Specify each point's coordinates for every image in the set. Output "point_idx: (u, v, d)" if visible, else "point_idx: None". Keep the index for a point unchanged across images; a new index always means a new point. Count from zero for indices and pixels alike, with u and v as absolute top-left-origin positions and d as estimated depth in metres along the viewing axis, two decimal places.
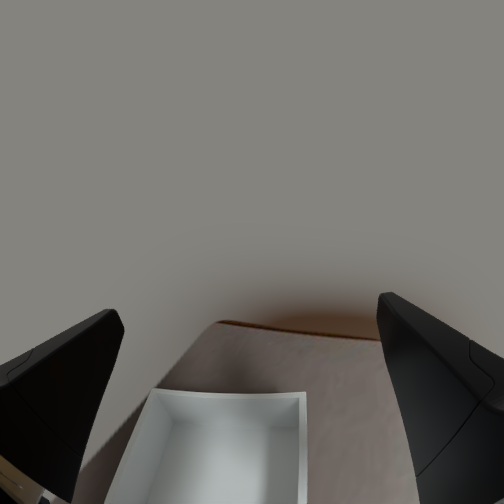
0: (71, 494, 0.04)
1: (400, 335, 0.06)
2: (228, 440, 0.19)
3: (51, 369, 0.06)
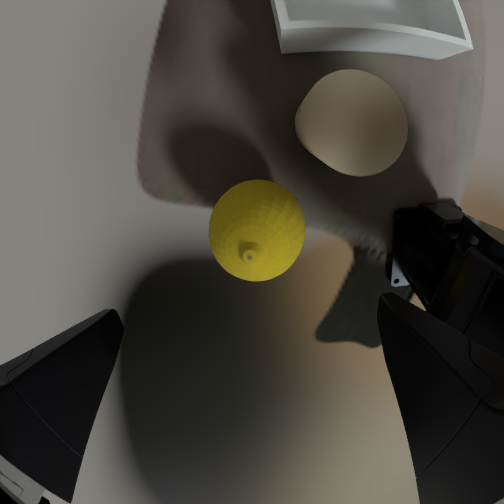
0: (71, 494, 0.04)
1: (400, 335, 0.06)
2: None
3: (51, 369, 0.06)
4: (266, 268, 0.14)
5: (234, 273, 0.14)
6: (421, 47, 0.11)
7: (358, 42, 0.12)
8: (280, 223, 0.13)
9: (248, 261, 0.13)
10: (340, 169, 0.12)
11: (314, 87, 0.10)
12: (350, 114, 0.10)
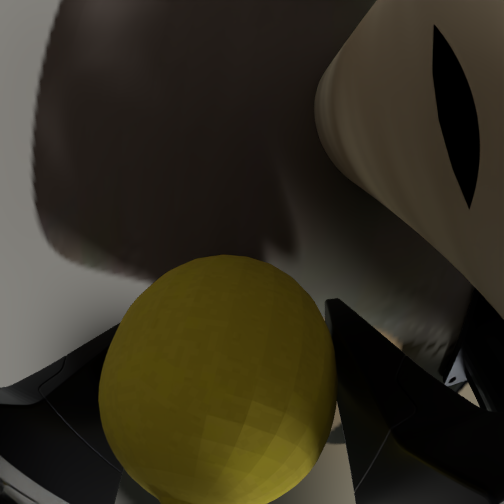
0: None
1: (336, 344, 0.06)
2: None
3: (90, 379, 0.06)
4: None
5: None
6: None
7: None
8: (271, 461, 0.03)
9: None
10: None
11: None
12: None
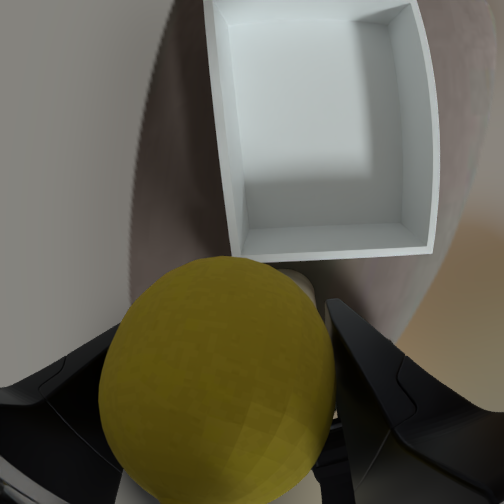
0: None
1: (336, 344, 0.06)
2: (309, 35, 0.14)
3: (90, 379, 0.06)
4: None
5: None
6: None
7: None
8: (271, 462, 0.03)
9: None
10: None
11: None
12: None
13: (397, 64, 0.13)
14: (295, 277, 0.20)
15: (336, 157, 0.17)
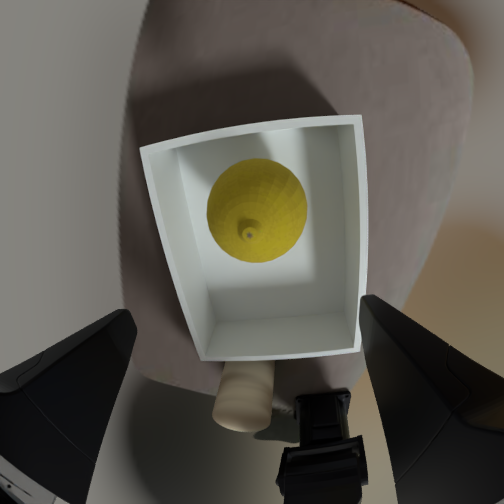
0: (84, 501, 0.04)
1: (378, 339, 0.06)
2: (254, 154, 0.18)
3: (63, 372, 0.06)
4: (266, 248, 0.13)
5: (233, 254, 0.14)
6: None
7: None
8: (281, 200, 0.12)
9: (247, 240, 0.12)
10: (230, 428, 0.22)
11: (218, 408, 0.20)
12: (237, 417, 0.21)
13: (343, 175, 0.18)
14: None
15: (281, 268, 0.21)
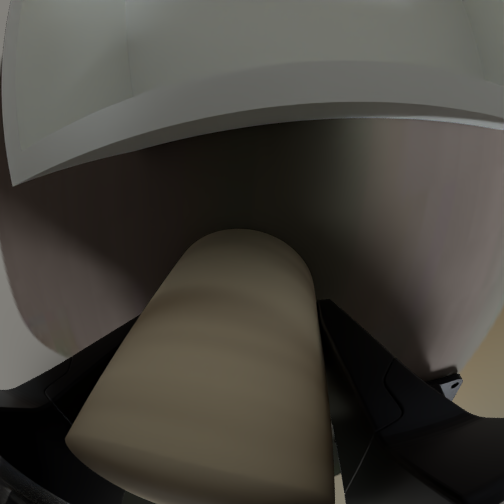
0: None
1: (326, 345, 0.06)
2: None
3: (97, 381, 0.06)
4: None
5: None
6: (478, 122, 0.04)
7: (293, 117, 0.05)
8: None
9: None
10: (159, 503, 0.04)
11: (74, 436, 0.03)
12: (173, 492, 0.03)
13: None
14: (277, 254, 0.08)
15: None
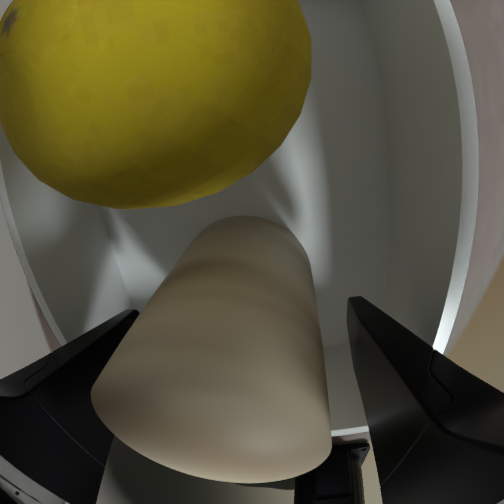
0: None
1: (363, 341, 0.06)
2: None
3: (73, 375, 0.06)
4: (93, 86, 0.02)
5: (25, 163, 0.03)
6: None
7: None
8: None
9: (1, 46, 0.01)
10: (169, 465, 0.05)
11: (104, 379, 0.04)
12: (187, 437, 0.04)
13: (381, 58, 0.07)
14: (277, 237, 0.09)
15: None
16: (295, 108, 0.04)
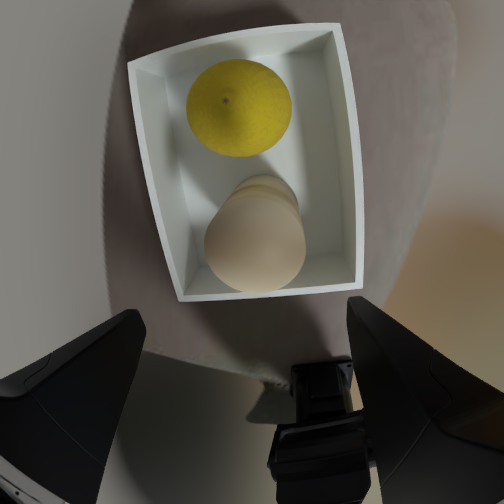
0: None
1: (363, 341, 0.06)
2: None
3: (73, 375, 0.06)
4: (244, 121, 0.11)
5: (209, 134, 0.12)
6: None
7: None
8: (261, 77, 0.10)
9: (223, 106, 0.10)
10: (229, 283, 0.15)
11: (220, 212, 0.13)
12: (248, 242, 0.13)
13: (331, 95, 0.16)
14: (280, 182, 0.18)
15: None
16: (285, 126, 0.13)
